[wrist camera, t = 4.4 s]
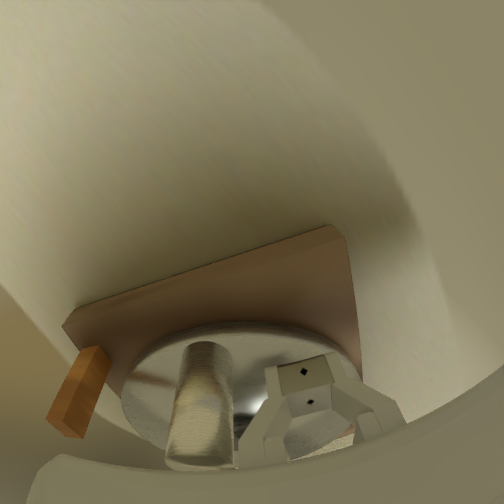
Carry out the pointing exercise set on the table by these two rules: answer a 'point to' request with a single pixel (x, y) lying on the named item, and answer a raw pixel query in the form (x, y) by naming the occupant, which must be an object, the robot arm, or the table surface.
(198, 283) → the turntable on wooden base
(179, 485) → the robot arm
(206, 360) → the dial
